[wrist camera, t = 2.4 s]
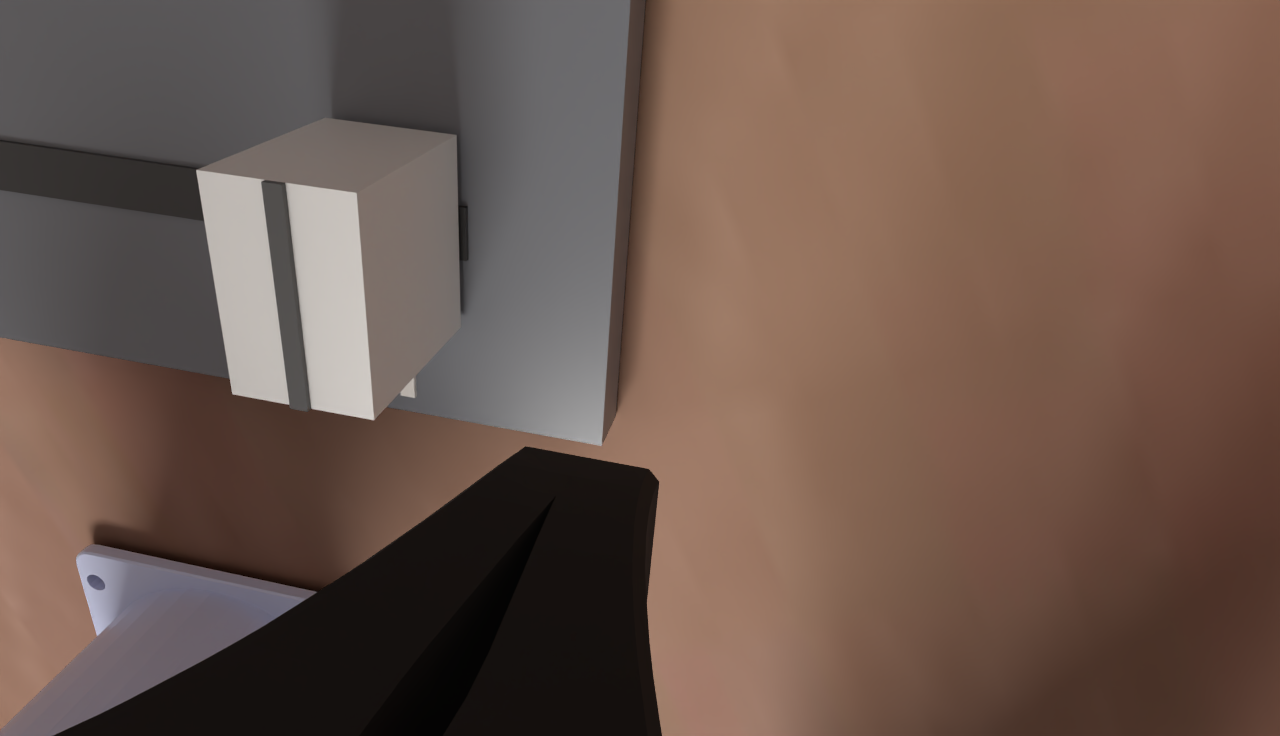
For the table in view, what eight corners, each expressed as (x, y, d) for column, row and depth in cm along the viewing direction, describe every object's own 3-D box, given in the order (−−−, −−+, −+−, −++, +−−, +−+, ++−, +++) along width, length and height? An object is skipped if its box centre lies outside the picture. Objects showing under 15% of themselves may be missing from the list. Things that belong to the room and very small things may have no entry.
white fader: (460, 326, 17) (371, 423, 14) (341, 307, 17) (228, 397, 14) (456, 134, 15) (353, 195, 12) (324, 117, 16) (191, 171, 12)
